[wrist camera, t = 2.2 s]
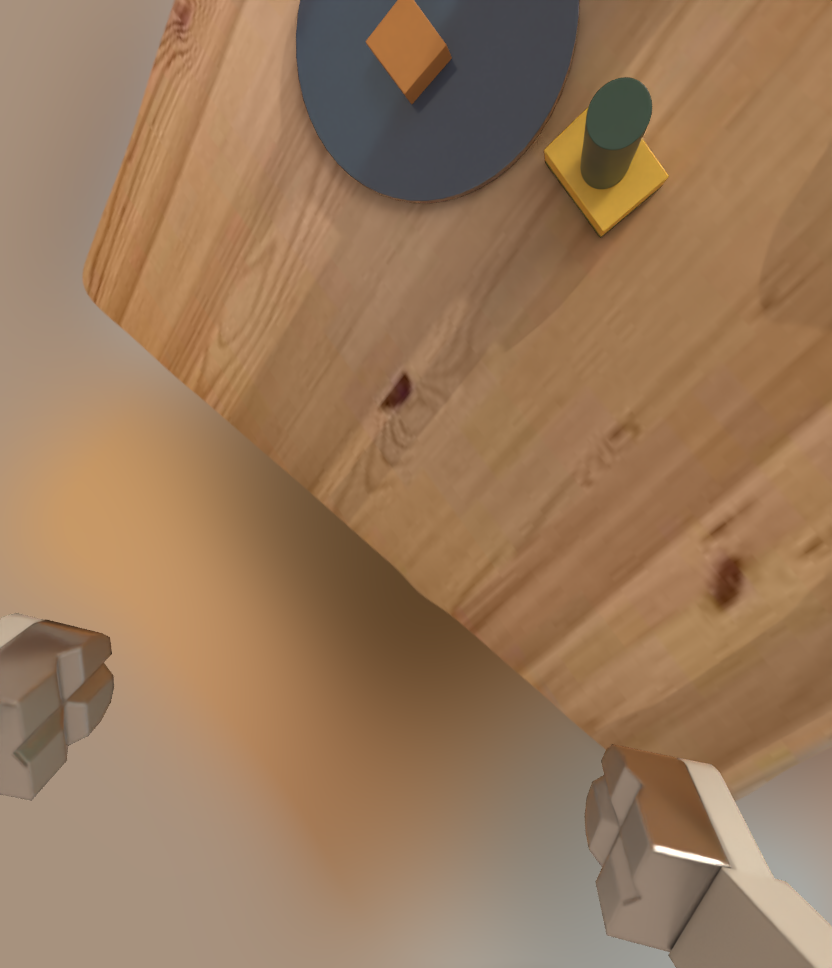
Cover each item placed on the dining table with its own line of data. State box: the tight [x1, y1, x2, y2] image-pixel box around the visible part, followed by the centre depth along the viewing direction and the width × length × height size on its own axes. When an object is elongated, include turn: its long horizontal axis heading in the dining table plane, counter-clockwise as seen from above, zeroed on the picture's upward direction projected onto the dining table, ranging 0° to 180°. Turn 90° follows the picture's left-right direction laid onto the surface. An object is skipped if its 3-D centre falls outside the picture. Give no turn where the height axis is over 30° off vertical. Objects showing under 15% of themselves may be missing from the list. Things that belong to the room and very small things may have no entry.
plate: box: [296, 0, 579, 203], centre depth 37 cm, size 21×21×1 cm
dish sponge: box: [544, 77, 669, 238], centre depth 32 cm, size 7×5×12 cm
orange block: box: [366, 0, 452, 104], centre depth 36 cm, size 4×4×2 cm
